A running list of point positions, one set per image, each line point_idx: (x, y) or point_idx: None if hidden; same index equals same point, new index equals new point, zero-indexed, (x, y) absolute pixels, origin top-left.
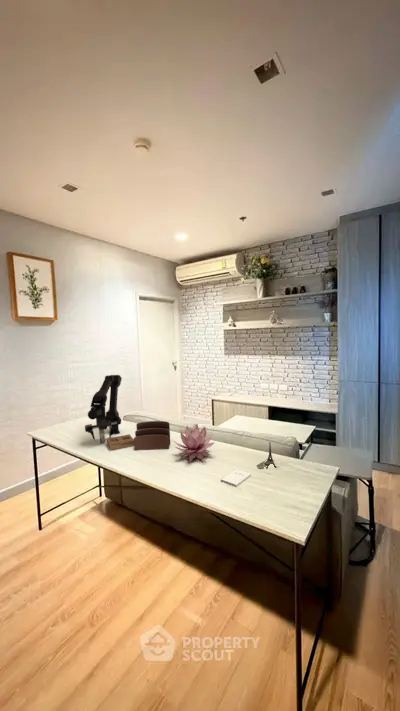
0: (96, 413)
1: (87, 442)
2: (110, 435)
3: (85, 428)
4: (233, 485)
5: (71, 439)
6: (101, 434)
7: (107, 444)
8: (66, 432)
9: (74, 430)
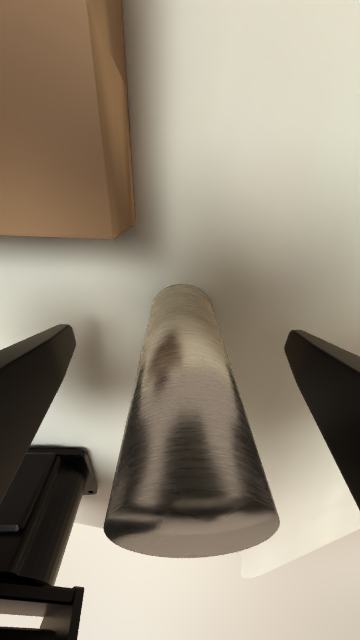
0: None
1: None
2: (28, 344)
3: None
4: None
5: None
6: (208, 376)
7: (127, 146)
8: (312, 542)
9: (271, 546)
